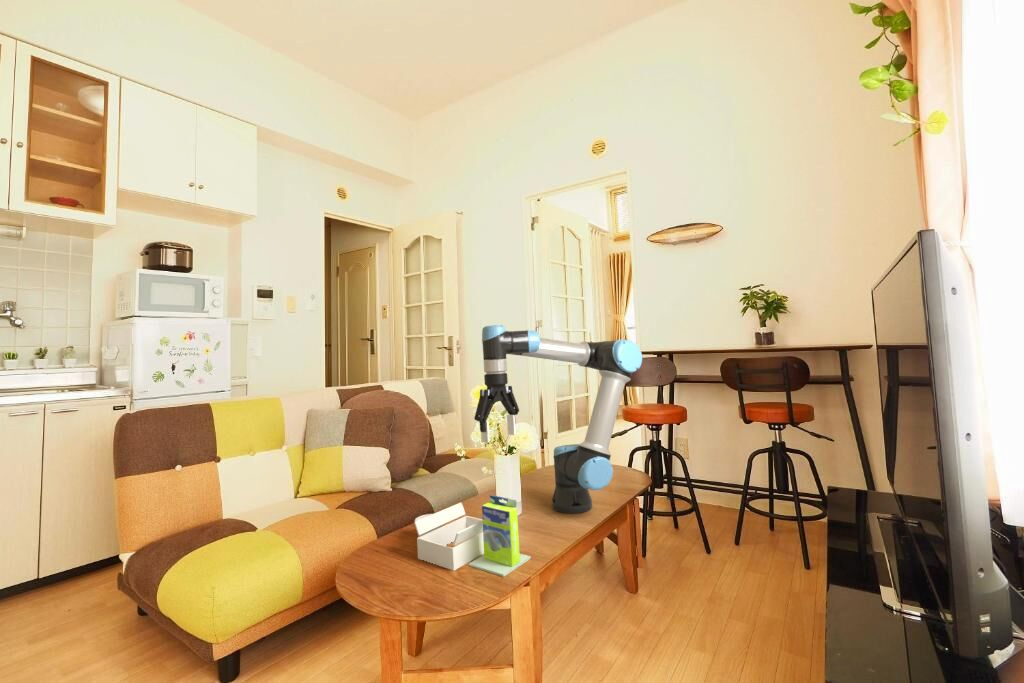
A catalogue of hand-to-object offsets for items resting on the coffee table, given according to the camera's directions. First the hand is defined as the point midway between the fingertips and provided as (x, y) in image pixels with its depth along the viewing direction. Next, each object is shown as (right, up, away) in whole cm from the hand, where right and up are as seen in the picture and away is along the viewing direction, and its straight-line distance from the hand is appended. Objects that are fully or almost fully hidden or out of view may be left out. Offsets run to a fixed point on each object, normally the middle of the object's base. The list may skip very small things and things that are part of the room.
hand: (499, 438), depth 150 cm
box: (+1, -31, -19) cm, 36 cm away
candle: (-23, -33, +2) cm, 40 cm away
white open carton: (-11, -32, -10) cm, 35 cm away
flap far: (-17, -26, -5) cm, 32 cm away
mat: (+1, -31, -19) cm, 37 cm away
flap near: (-6, -25, -14) cm, 29 cm away
